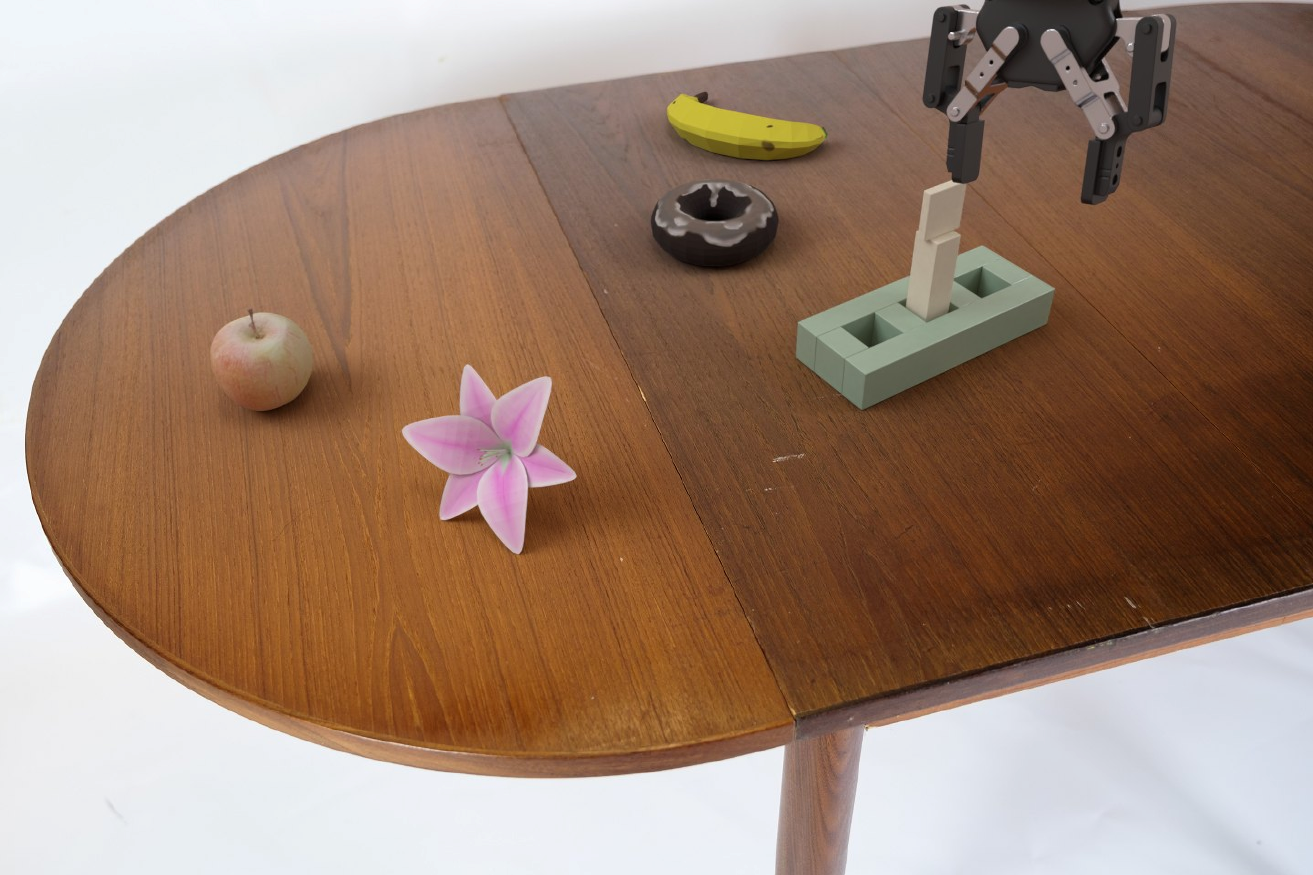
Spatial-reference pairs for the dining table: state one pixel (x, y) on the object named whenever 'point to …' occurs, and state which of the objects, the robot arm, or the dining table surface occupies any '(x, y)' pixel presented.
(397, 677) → the dining table surface
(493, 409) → the lily
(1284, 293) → the dining table surface
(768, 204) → the donut
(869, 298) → the caddy
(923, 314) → the cream offset-tab post
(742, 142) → the banana
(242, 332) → the fruit
